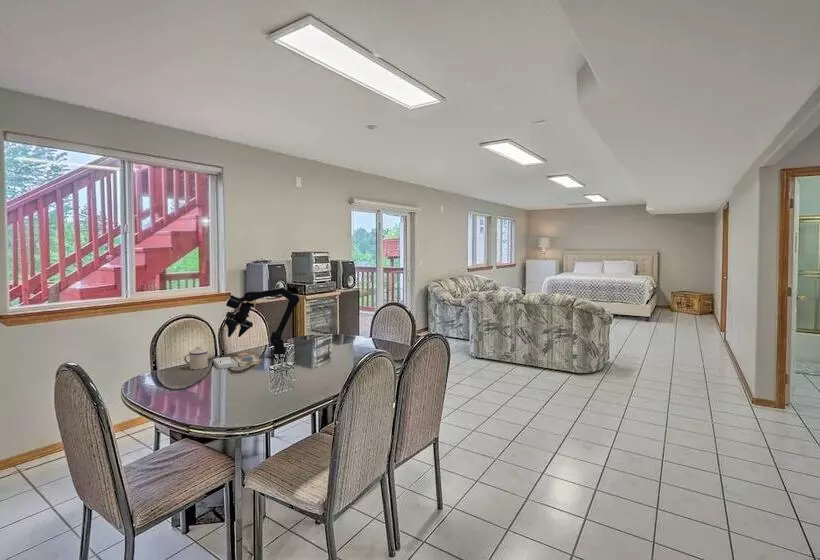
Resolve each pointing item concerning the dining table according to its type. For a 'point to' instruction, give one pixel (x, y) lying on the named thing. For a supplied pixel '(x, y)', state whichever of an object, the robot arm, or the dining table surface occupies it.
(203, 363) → the teacup with lid
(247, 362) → the birch board
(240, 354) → the terracotta tile
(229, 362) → the tray
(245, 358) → the slate tile
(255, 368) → the dining table surface
